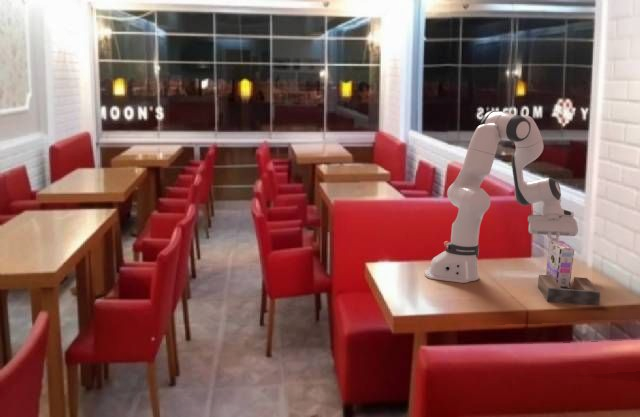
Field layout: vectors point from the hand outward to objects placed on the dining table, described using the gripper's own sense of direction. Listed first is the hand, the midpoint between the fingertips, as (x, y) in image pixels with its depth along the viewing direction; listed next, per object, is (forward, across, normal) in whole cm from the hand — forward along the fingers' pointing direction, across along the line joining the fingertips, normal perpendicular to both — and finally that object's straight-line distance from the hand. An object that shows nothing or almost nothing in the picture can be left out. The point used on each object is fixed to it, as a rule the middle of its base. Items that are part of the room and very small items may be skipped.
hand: (554, 242), depth 289 cm
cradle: (+30, 0, -11) cm, 32 cm away
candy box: (+19, 0, +1) cm, 19 cm away
